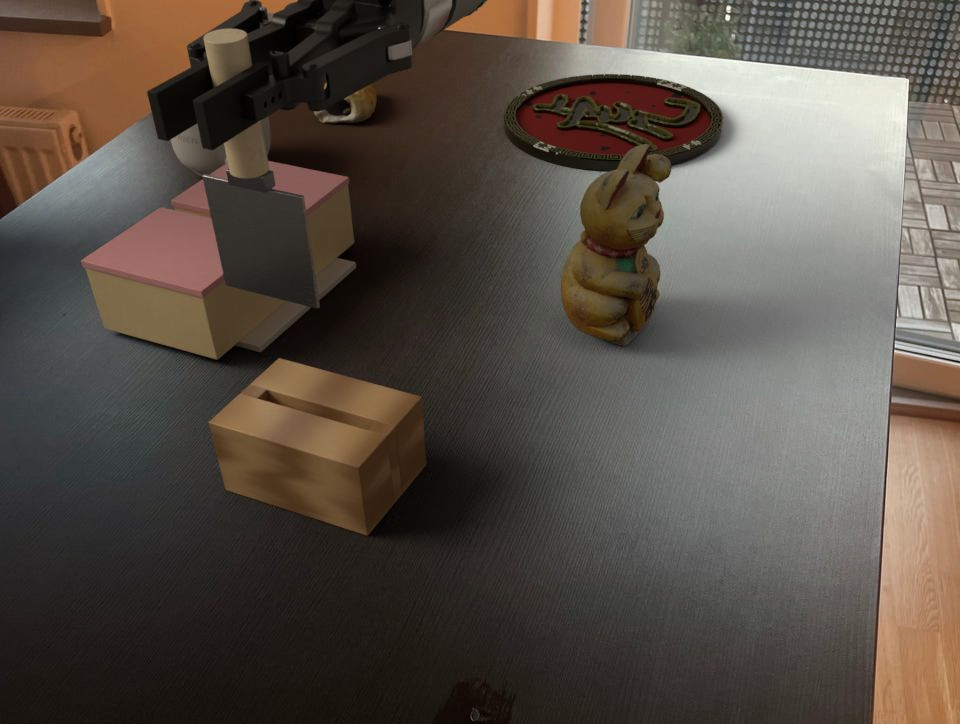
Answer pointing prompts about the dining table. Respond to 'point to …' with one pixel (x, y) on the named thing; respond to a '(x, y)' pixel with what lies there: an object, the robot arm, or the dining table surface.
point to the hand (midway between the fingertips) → (180, 120)
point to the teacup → (205, 150)
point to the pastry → (351, 107)
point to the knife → (256, 202)
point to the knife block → (321, 444)
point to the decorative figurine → (617, 250)
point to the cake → (212, 270)
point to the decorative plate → (611, 120)
